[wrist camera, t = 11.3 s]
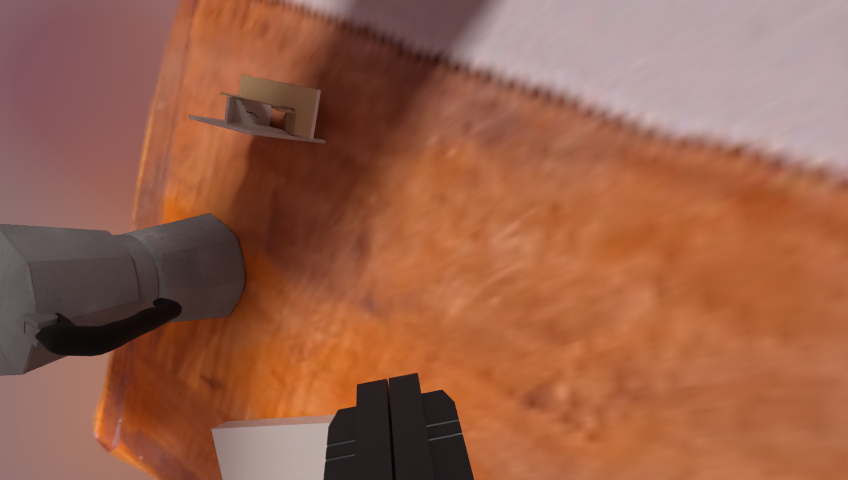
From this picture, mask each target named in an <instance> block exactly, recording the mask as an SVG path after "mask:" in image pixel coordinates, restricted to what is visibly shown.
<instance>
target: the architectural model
mask: <svg viewBox="0 0 848 480" xmlns="http://www.w3.org/2000/svg"><path fill="white" fill-rule="evenodd" d="M221 94H223V95H228V97H227V105H226V113H225V120H221V119H214V118H207V117H200V116H193V115H189V119H193V120H197V121H201V122H205V123H208V124H212V125H216V126H220V127H223V128H227V129H231V130H235V131H239V132H242V133H246V134H250V135H257V136H266V137H274V138H283V139H291V140H300V141H308V142H316V143H325V144H326V140H322V139H318V138H314V131H315V125H316V119H317V113H318V106H319V100H320V94H321V90H318V89H313V88H308V87H303V86H298V85H293V84H288V83H283V82H278V81H272V80H267V79H262V78H257V77H252V76H247V75H241V83H240V91H239V96H238V95H234V94H229V93H224V92H221ZM272 105H273V106H272ZM275 106H277V107H275ZM283 107H284V108H283ZM272 108H275V109H277V111H282V112H287V115H286V121H285V128H284V129H285V130H282V129H278V128H274V127H270V119H271V112H272ZM289 109H291V110H289ZM292 110H293V111H292Z"/></svg>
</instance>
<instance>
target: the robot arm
mask: <svg viewBox="0 0 848 480" xmlns="http://www.w3.org/2000/svg"><path fill="white" fill-rule="evenodd" d="M325 459H326V462H325V468H324V479H323V480H474V478H473V474H472V470H471V466H470V462H469V458H468V454H467V450H466V446H465V442H464V438H463V435H462V430H461V426H460V422H459V418H458V414H457V410H456V406H455V402H454V401H453V400H452V399H451V398H450V397H449V396H448V395H447V394H446V393H445V392H444V391H443V390H439V391H433V392H428V393H423V394H421V389H420V383H419V378H418V373H414V374H409V375H404V376H398V377H393V378H389V385H388V381H387V379H383V380H378V381H373V382H368V383H362V384H357V403H356V407H351V408H345V409H340V410H338V411H337V413H336V415H335V416H334V418H333V420H332V421H331V423H330V425H329V426H328V436H327V448H326V457H325Z"/></svg>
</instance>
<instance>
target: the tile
mask: <svg viewBox="0 0 848 480" xmlns="http://www.w3.org/2000/svg"><path fill="white" fill-rule="evenodd" d="M334 416H335V415H321V416H305V417H288V418H272V419H256V420H239V421H226V422H224V423H222V424H220V425H218V426H216V427H214V428H212V429H211V431H212V435H213V439H214V444H215V448H216V453H217V457H218V462H219V466H220V471H221V475H222V480H323V479H324V468H325V462H326V459H325V457H326V448H327V436H328V426H329V425H330V423H331V421H332V420H333V418H334Z"/></svg>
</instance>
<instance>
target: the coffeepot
mask: <svg viewBox="0 0 848 480" xmlns="http://www.w3.org/2000/svg"><path fill="white" fill-rule="evenodd" d="M244 284H245V265H244V258H243V254H242V250H241V248H240V245H239V243H238V241H237V238H236V237H235V235H234V234H233V232H232V231H231V230H230V229H229V228H228V227H227V226H226V225H225V224H224V223H223V222H221V221H220V220H218V219H216V218H215V217H214V216H213V215H212V214H211V213H209V214H204V215H200V216H196V217H192V218H188V219H184V220H180V221H175V222H171V223H167V224H163V225H159V226H154V227H150V228H146V229H142V230H137V231H133V232H129V233H125V234H121V235H112V234H110V233H109V232H108V231H101V230H86V229H70V228H56V227H40V226H25V225H9V224H0V376H1V375H21V374H26V372H29V371H31V370H34V369H36V368H39V367H41V366H44V365H46V364H49V363H51V362H53V361H56V360H58V359H61V358H63V357H66V356H95V355H101V354H104V353H107V352H110V351H112V350H114V349H116V348H118V347H120V346H122V345H124V344H126V343H127V342H129V341H131V340H133V339H135V338H137V337H139V336H141V335H143V334H145V333H147V332H149V331H152V330H154V329H156V328H157V327H159V326H161V325H163V324H165V323H167V322H177V321H189V320H201V319H209V318H218V317H227V316H229V315H230V314H231V312H232V311H233V309H234V308H235V306H236V304H237V303H238V301H239V299H240V297H241V294H242V292H243V288H244Z"/></svg>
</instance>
